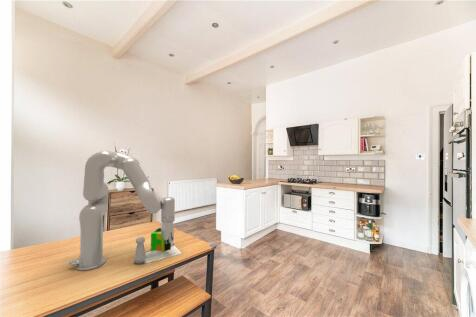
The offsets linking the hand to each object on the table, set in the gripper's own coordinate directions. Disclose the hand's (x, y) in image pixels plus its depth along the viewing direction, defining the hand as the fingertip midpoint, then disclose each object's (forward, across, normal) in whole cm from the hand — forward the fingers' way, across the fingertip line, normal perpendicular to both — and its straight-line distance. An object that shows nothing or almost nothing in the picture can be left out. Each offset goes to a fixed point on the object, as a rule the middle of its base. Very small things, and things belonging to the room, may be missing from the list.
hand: (167, 249), depth 118 cm
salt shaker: (+2, +2, -15) cm, 15 cm away
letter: (+2, -2, -3) cm, 4 cm away
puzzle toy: (+2, -10, 0) cm, 10 cm away
